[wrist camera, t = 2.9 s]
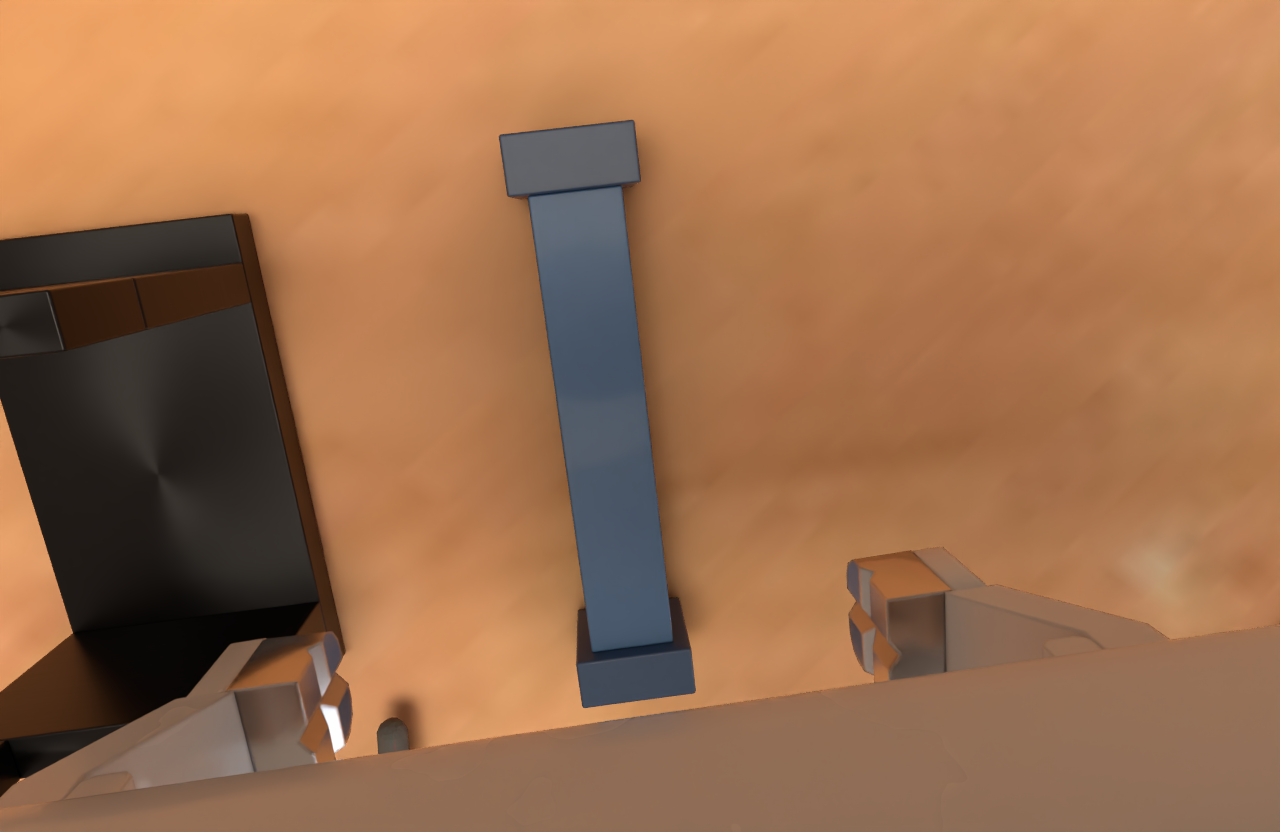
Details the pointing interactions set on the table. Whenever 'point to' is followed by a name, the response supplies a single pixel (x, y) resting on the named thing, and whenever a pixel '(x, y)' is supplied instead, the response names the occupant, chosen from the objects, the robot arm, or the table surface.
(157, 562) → the holder
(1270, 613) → the table surface
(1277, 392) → the table surface
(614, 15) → the table surface
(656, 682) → the handle
